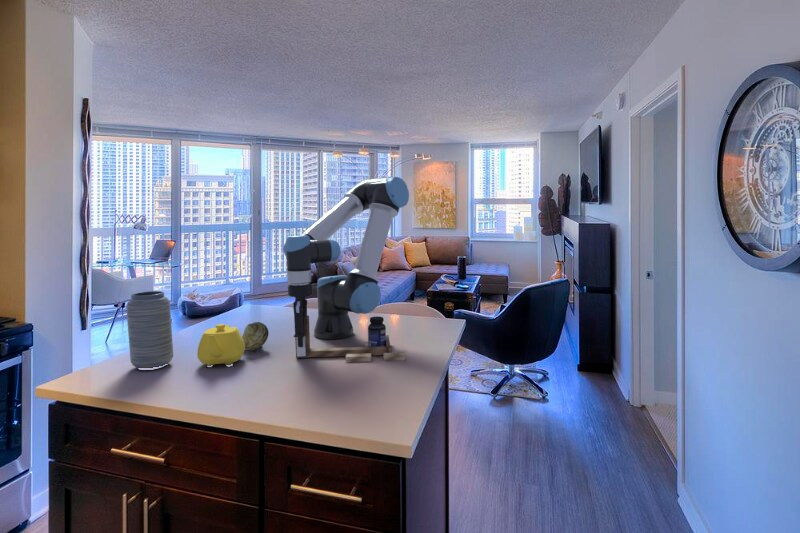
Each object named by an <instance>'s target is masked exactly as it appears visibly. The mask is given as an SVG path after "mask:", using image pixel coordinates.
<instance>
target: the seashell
mask: <svg viewBox="0 0 800 533" xmlns="http://www.w3.org/2000/svg"><path fill="white" fill-rule="evenodd" d="M269 332H270V331H269V328H268V327H267V325H265V324H264V323H263V322H260V321H256V322H255V321H254V322H252V323H247V325H246V326H245V328H244V330H243V335H241V336H242V338H243V340H244V345H245V350H247V351H249V350H252V351H255V350H258V349H260V348H261V347H262V346H264V345H265V344H266V342H267V341H268V338H269Z"/></svg>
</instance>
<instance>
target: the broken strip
mask: <svg viewBox="0 0 800 533" xmlns="http://www.w3.org/2000/svg"><path fill="white" fill-rule="evenodd" d="M406 359H407V356H406V351H404V352H390V353H384V355H383V361H384V362H387V361H388V362H389V361H390V362H391V361H406ZM345 362H346V363H349V362H350V363H352V362H353V363H354V362H355V363H357V362H372V355H371V353H365V354H346V356H345Z"/></svg>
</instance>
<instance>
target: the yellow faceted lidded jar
mask: <svg viewBox="0 0 800 533" xmlns="http://www.w3.org/2000/svg"><path fill="white" fill-rule="evenodd" d="M242 336H243V335H242V334H241V332H240V330H239V329H238V327H237V326H230V325H229V324H225V323H219V324H215V327H211V328H208V329H206V330H205V331H204V332H203V334H202V335H201V338H200V340H199V343H198V347H197V351H196V352H197V355H196V356H197V360H198V361H200V363H201V364H205V365H207V366H211V365H214V366H215V365H219V364H222V365H223V364H225V365H231V364H234V362H238V361H239V360H240V359H241V358H242V356H243V355H244V353H245V352H246V351H245V350H246V349H245V345H244V340H243V338H242Z"/></svg>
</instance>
